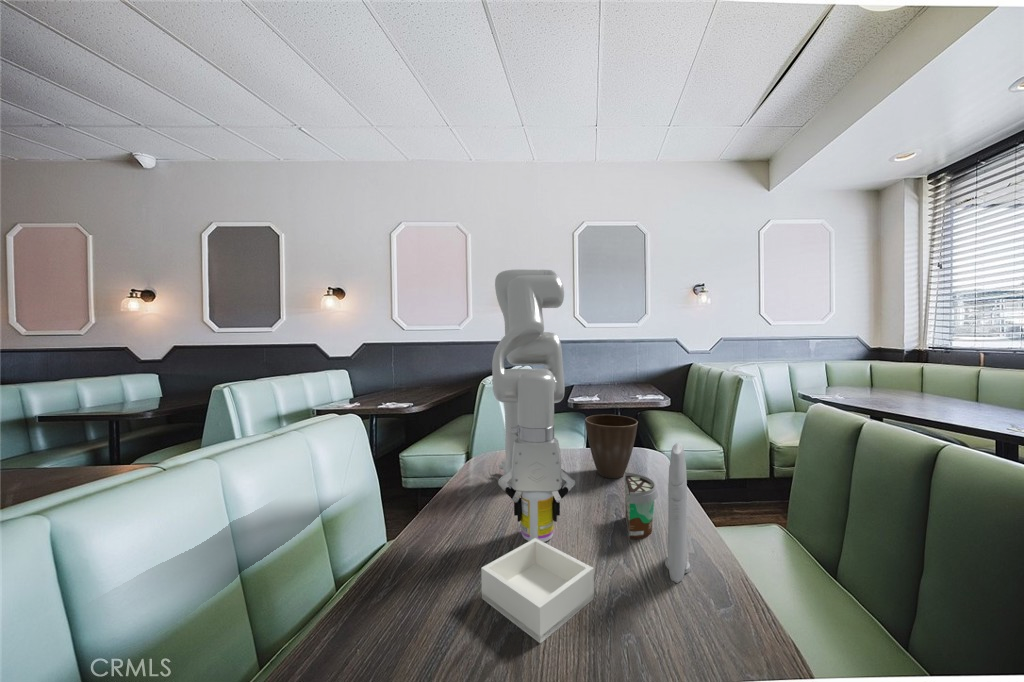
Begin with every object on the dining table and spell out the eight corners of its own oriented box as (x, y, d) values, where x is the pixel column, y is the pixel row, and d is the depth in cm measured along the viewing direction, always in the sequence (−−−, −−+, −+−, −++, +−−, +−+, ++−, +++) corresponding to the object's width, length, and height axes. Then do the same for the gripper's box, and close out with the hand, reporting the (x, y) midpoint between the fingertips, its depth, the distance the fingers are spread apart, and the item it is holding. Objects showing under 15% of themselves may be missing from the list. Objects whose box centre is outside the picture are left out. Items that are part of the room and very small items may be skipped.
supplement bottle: (556, 530, 83) (556, 470, 83) (549, 546, 77) (548, 482, 77) (526, 525, 86) (525, 467, 85) (516, 541, 79) (516, 478, 79)
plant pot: (620, 462, 125) (620, 413, 124) (648, 480, 110) (648, 423, 110) (577, 467, 121) (576, 416, 120) (600, 486, 106) (600, 428, 106)
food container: (662, 545, 77) (662, 495, 77) (630, 542, 78) (630, 493, 78) (653, 516, 89) (653, 473, 89) (625, 514, 90) (624, 471, 90)
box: (481, 598, 62) (481, 567, 62) (535, 564, 71) (535, 537, 71) (540, 643, 53) (539, 607, 53) (593, 598, 62) (593, 568, 62)
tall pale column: (668, 549, 76) (668, 436, 75) (691, 554, 74) (691, 439, 73) (661, 580, 66) (662, 452, 66) (688, 587, 64) (688, 455, 64)
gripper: (492, 438, 77) (493, 527, 78) (581, 438, 77) (581, 527, 77) (495, 428, 85) (496, 510, 85) (575, 428, 84) (576, 510, 85)
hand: (536, 517), depth 81 cm, fingers closed on supplement bottle, 6 cm apart
